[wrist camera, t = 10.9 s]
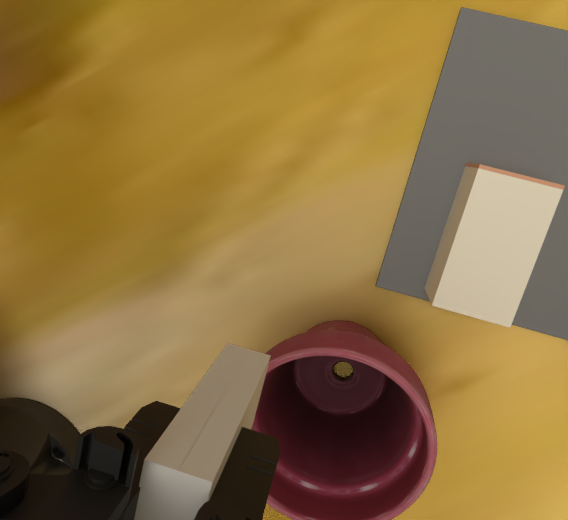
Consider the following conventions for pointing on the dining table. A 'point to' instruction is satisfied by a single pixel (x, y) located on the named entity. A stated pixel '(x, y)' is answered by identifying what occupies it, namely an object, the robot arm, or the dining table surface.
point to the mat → (491, 152)
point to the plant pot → (345, 427)
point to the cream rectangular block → (491, 243)
